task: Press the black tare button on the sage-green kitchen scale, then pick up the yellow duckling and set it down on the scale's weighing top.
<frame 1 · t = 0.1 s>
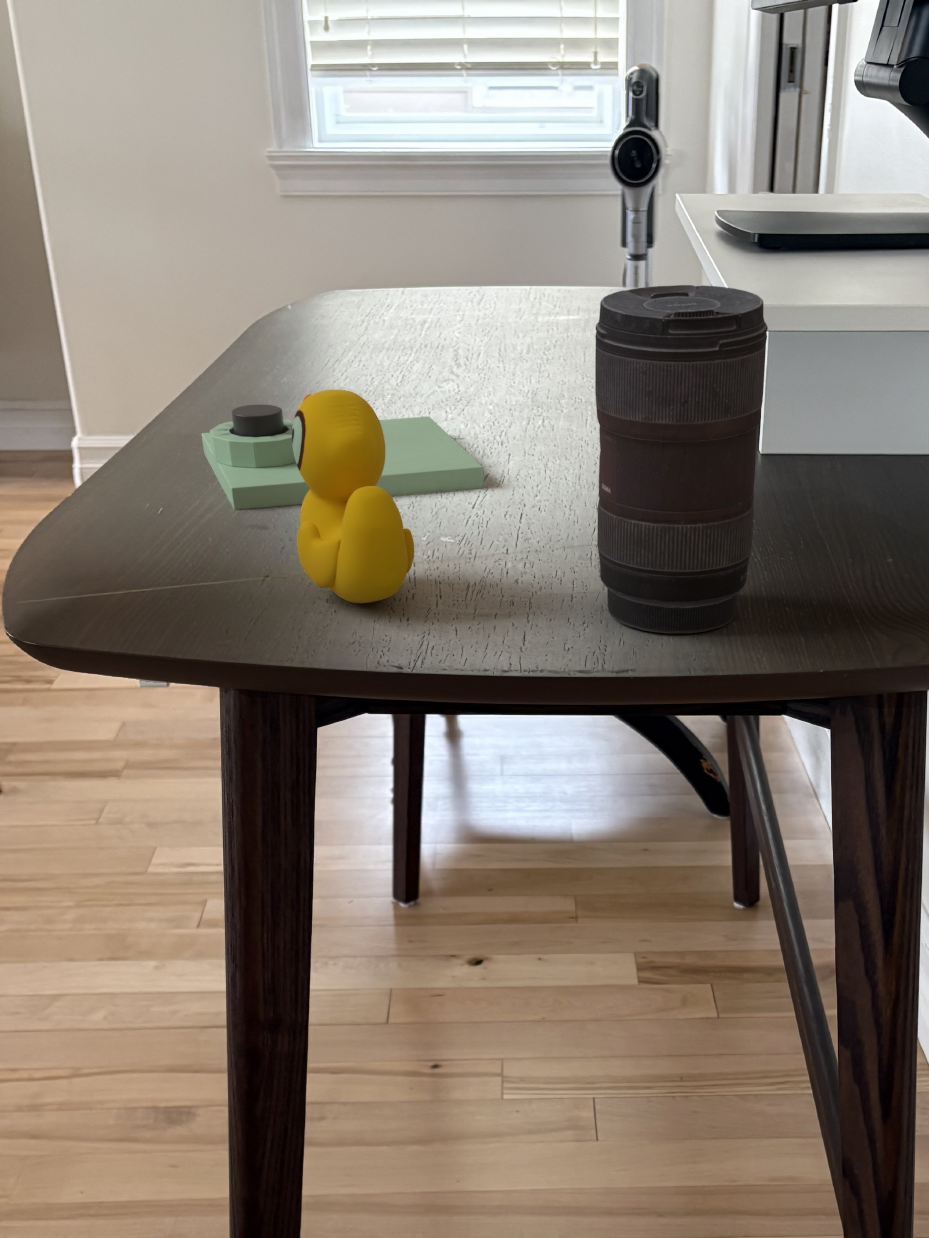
tare button: (258, 423, 97), point 3 cm above the table, slide at 0.1 cm
scale: (339, 471, 101), on the table
duckling: (356, 597, 81), on the table
camera lens: (670, 616, 79), on the table
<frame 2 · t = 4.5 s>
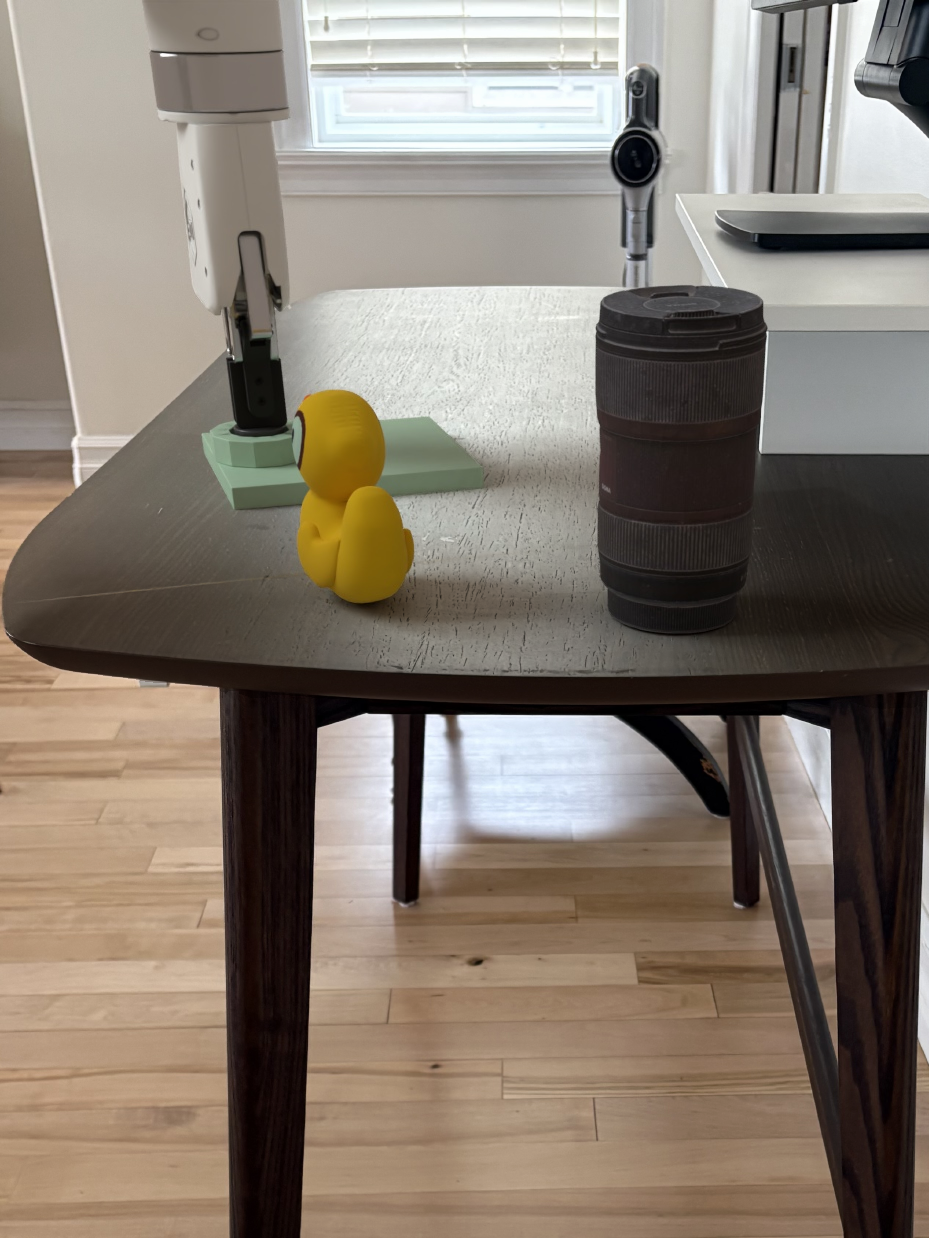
hand: (261, 424, 98), 3 cm above the table, tool pointing down, fingers closed
tare button: (260, 438, 98), point 2 cm above the table, slide at -0.8 cm, touching gripper
everything else where it was.
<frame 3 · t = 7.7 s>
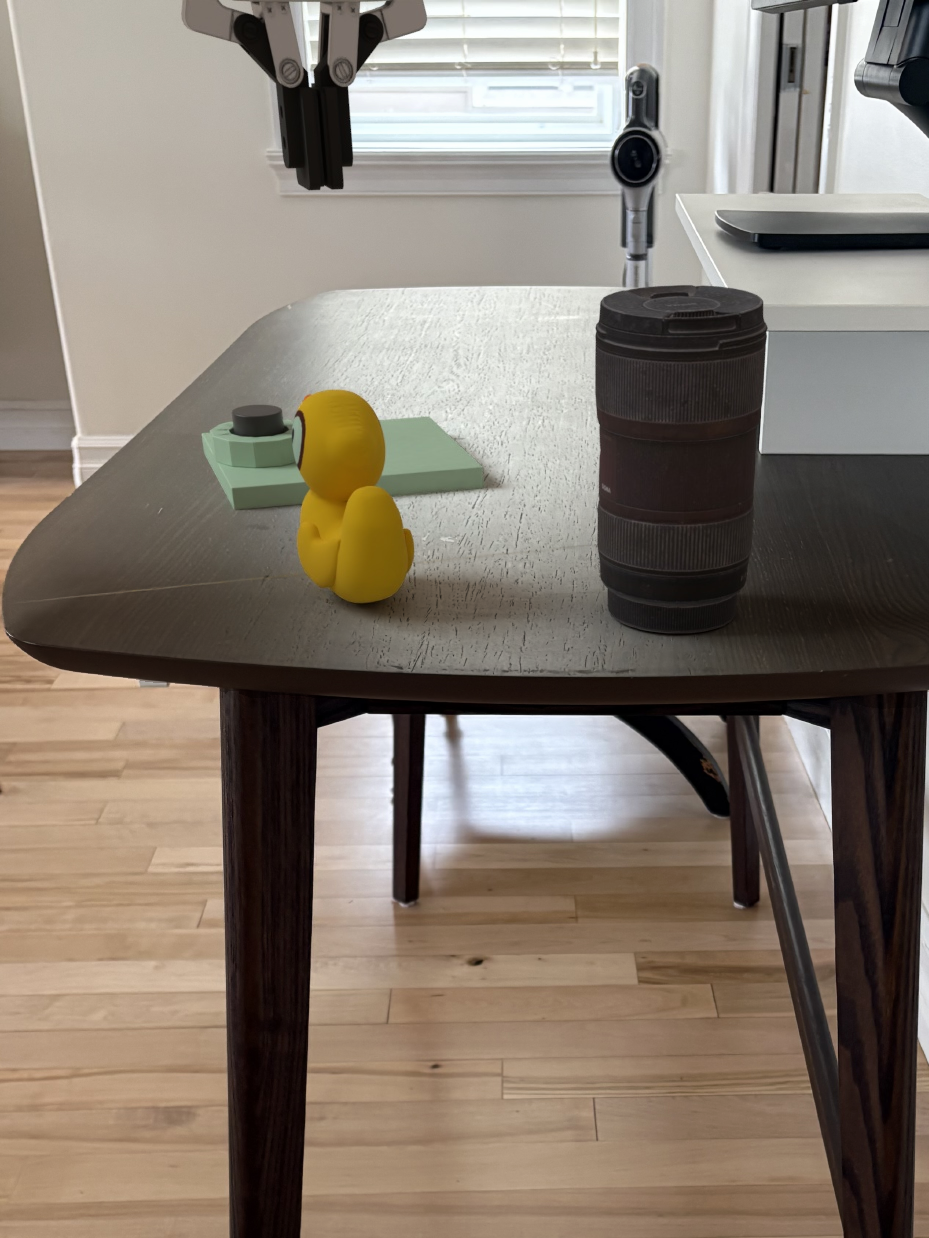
hand: (320, 185, 70), 19 cm above the table, tool pointing down, fingers closed
tare button: (258, 423, 97), point 3 cm above the table, slide at 0.1 cm
everything else where it was.
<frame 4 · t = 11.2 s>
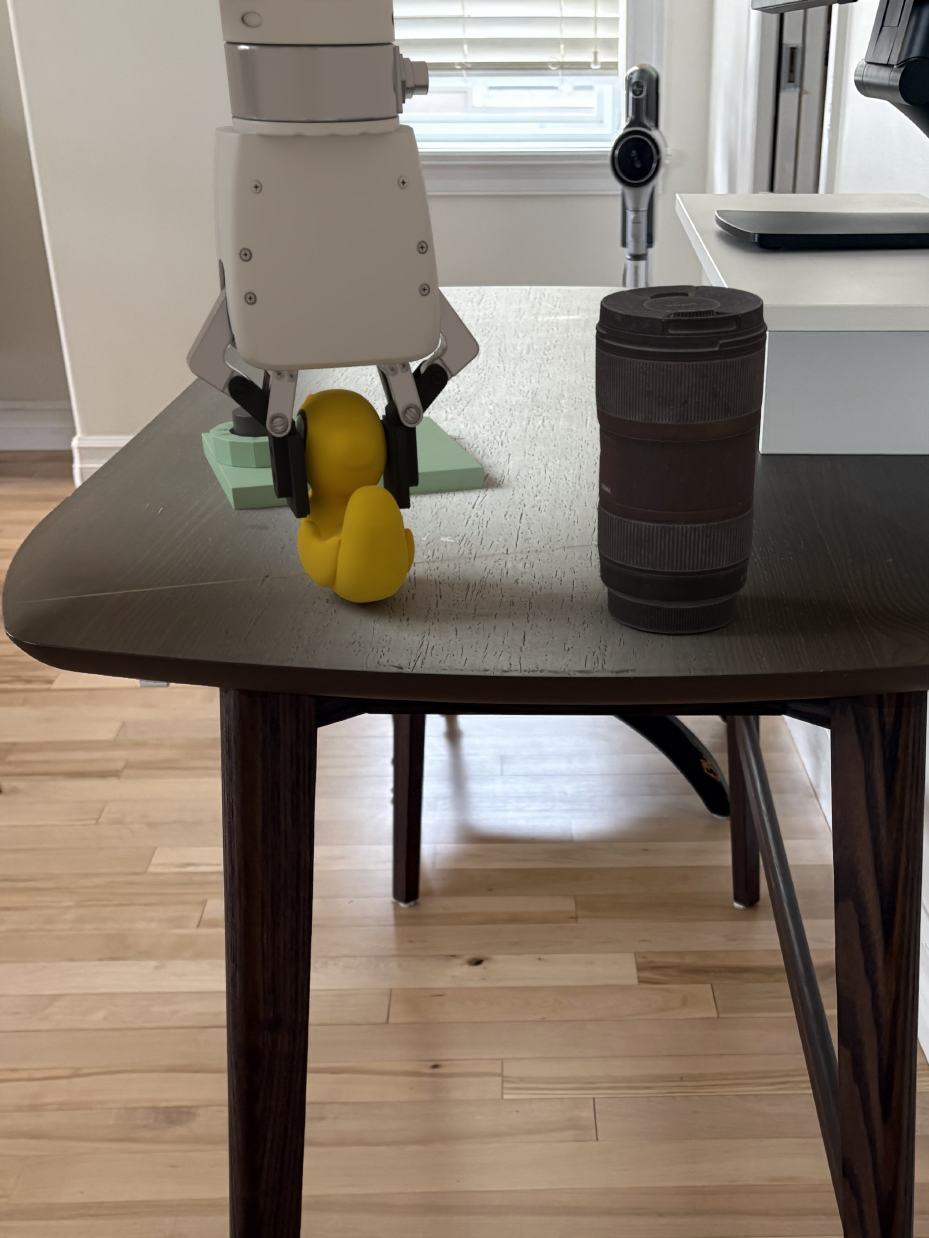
hand: (348, 502, 78), 5 cm above the table, tool pointing down, fingers closed on duckling, 4 cm apart
duckling: (356, 596, 81), on the table, touching gripper
everything else where it was.
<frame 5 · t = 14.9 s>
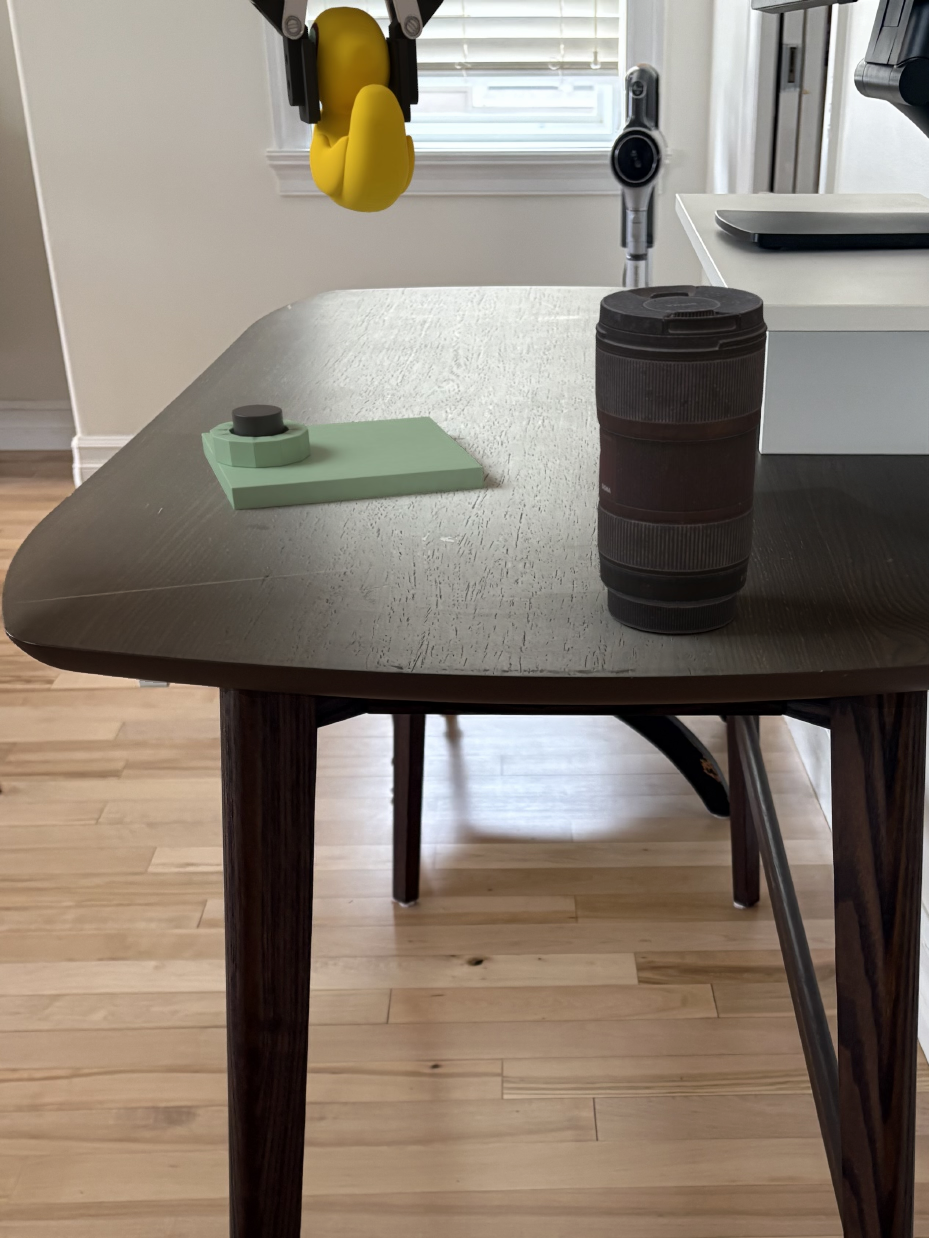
hand: (354, 117, 87), 20 cm above the table, tool pointing down, fingers closed on duckling, 4 cm apart
duckling: (362, 214, 90), point 15 cm above the table, touching gripper
everything else where it was.
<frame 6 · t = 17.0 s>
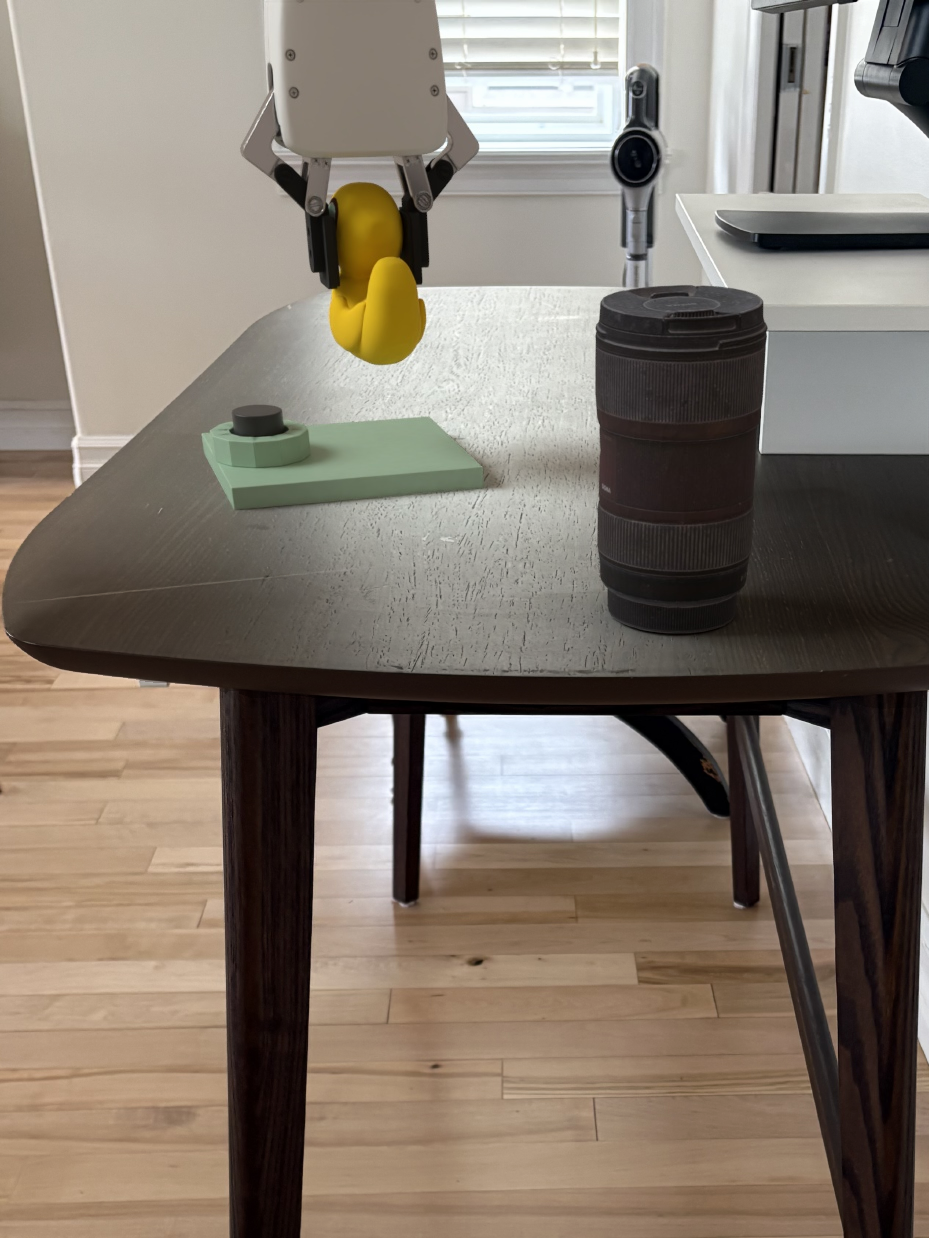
hand: (370, 280, 95), 11 cm above the table, tool pointing down, fingers closed on duckling, 4 cm apart
duckling: (377, 364, 98), point 6 cm above the table, touching gripper
everything else where it was.
when the fingers open (6 cm above the table, at t = 18.9 s): duckling stays where it is, resting on scale.
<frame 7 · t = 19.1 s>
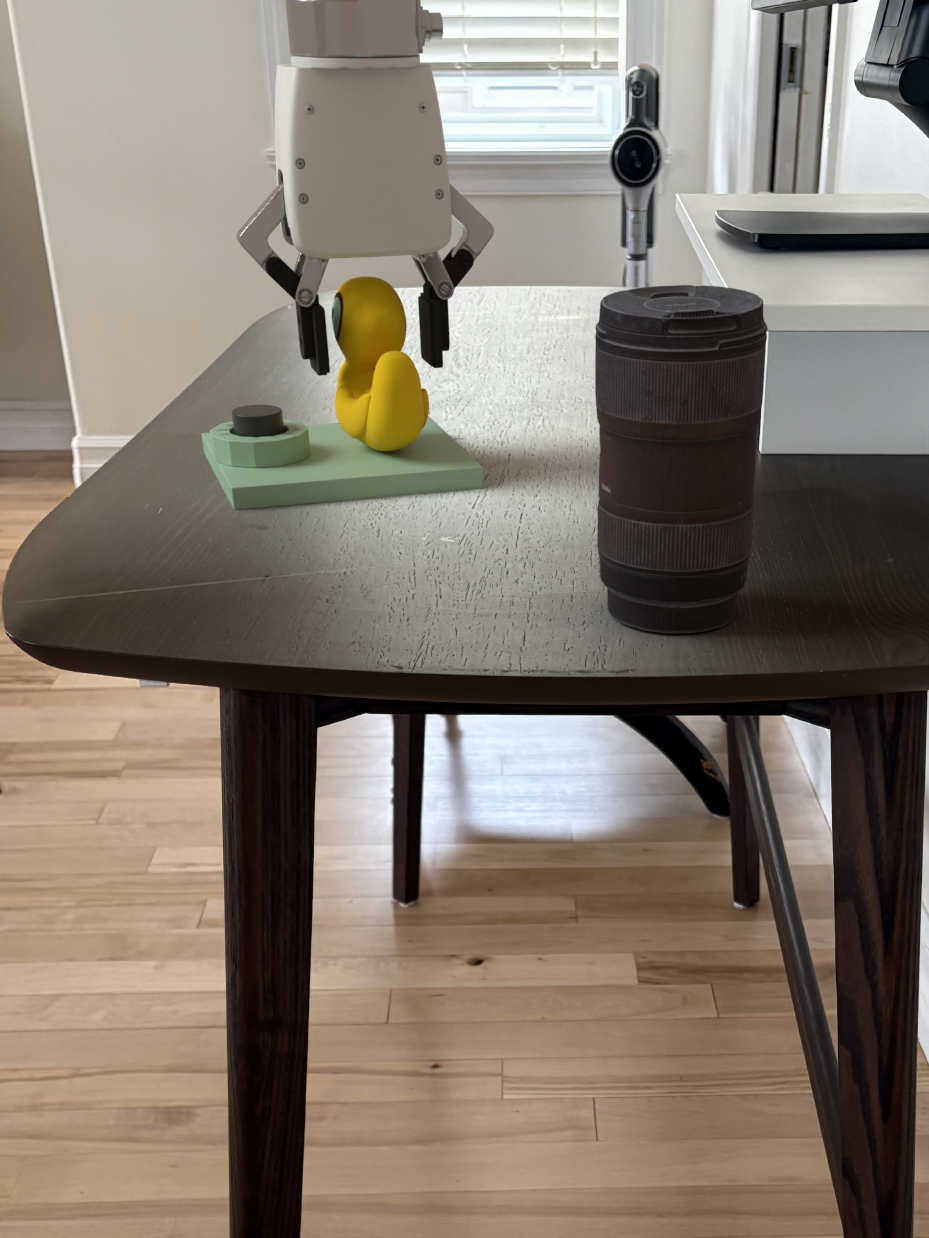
hand: (376, 365, 98), 6 cm above the table, tool pointing down, fingers open, 6 cm apart
duckling: (381, 449, 101), point 1 cm above the table, touching scale
everything else where it was.
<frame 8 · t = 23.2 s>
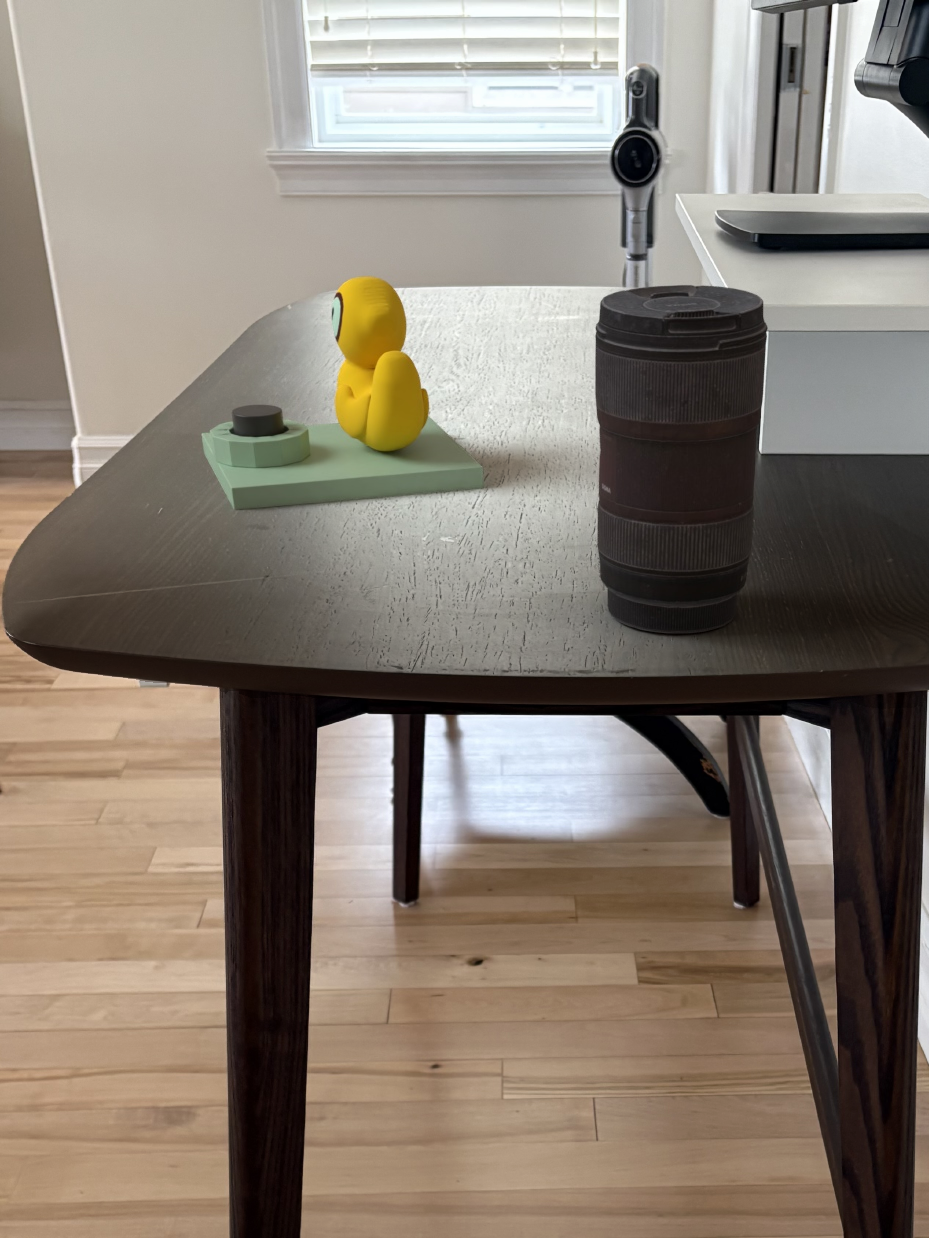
nothing on the table moved.
at the end: tare button pushed in 0.9 cm at the most during the clip, back to where it started at the end; duckling inside the target area on the scale (2.4 cm from its centre), point 1.2 cm above the scale's base; duckling touching scale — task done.
